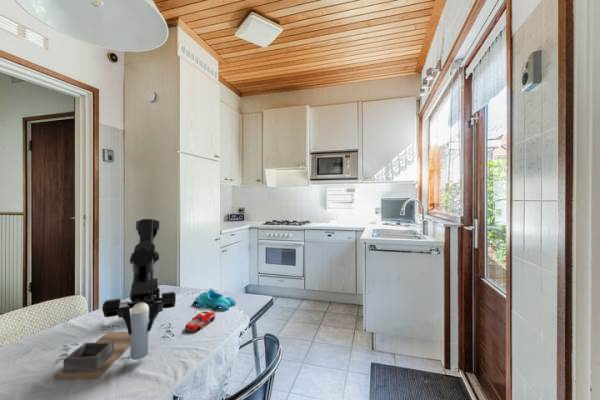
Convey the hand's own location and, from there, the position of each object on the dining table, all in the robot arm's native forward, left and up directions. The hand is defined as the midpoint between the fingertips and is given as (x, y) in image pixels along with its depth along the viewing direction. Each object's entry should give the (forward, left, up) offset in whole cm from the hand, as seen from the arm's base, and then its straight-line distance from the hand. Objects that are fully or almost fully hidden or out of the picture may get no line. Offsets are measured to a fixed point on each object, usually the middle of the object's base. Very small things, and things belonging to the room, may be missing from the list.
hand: (139, 332), depth 75 cm
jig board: (-14, -3, -9) cm, 17 cm away
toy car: (-15, +42, -10) cm, 46 cm away
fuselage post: (-1, +1, -7) cm, 7 cm away
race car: (-5, +26, -10) cm, 28 cm away
